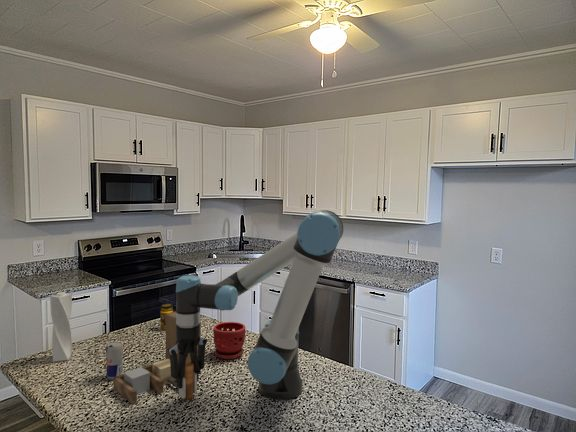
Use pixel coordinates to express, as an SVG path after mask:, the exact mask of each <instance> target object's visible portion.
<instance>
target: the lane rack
mask: <svg viewBox="0 0 576 432" xmlns="http://www.w3.org/2000/svg"><path fill="white" fill-rule="evenodd" d="M152 364H153V363H152ZM152 364H151V363H150V364H148V365H146V366H143V367H142V366H141V367H142V368H143V369H145V370H146V371H148V372H149V373H150V389H153V390H154V391H155V392H156V393H158V394H160V395H161V394H164V385H163V380H161V379H160V378H158V377H157V376H155V375H154V374H153V371H152ZM113 390H114V391H116V392H117V393H118V394H119V395H121V397H123V398H124V399H125V400H127V401H128V403H130V404H131V405H132V406H133V405H137V403H138V399H137V398H138V397H137V396H138V394H137V391H136V390H134V389H133V388H132V387H131V386H129V385H128V384H127V383H125V382H124V373H123V374H122V375H119V376H116V377H114V380H113Z"/></svg>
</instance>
